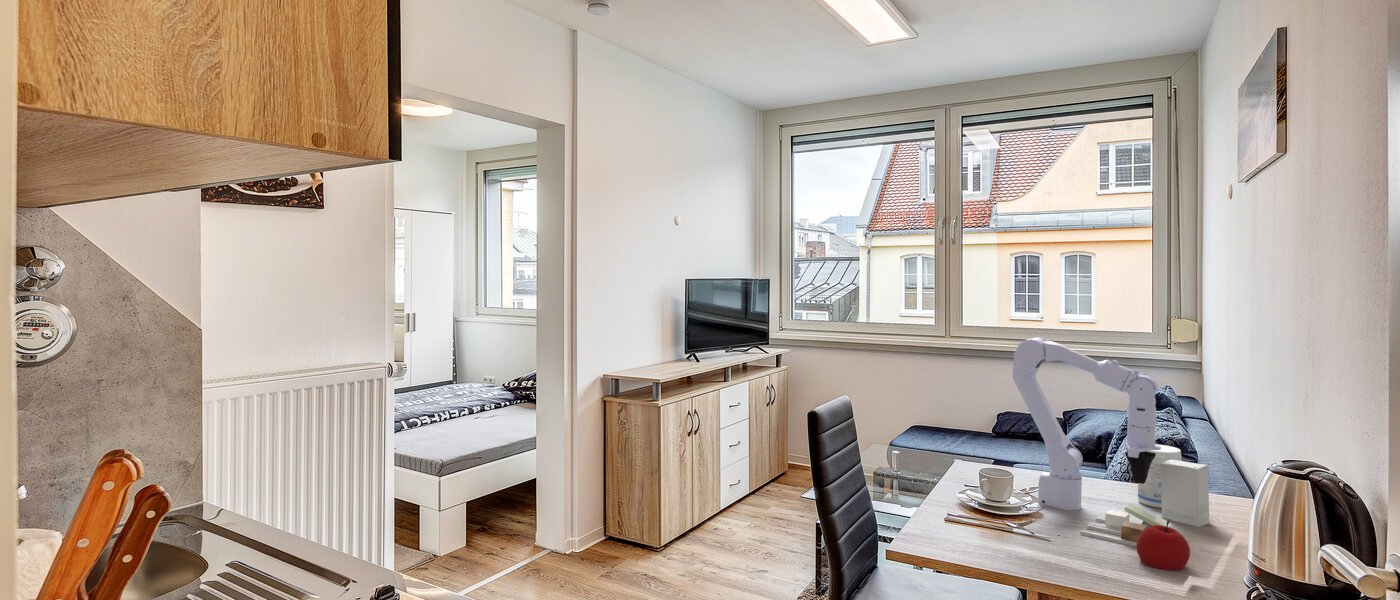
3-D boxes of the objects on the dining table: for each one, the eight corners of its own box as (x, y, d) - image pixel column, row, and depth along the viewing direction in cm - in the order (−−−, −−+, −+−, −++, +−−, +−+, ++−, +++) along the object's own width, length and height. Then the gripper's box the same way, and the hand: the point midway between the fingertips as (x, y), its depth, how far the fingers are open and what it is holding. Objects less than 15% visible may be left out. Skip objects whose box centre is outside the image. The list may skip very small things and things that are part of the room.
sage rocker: (1123, 510, 168) (1126, 505, 168) (1128, 506, 171) (1130, 501, 171) (1166, 533, 163) (1168, 528, 162) (1169, 528, 166) (1172, 524, 165)
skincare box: (1209, 528, 171) (1211, 465, 171) (1197, 532, 168) (1199, 468, 168) (1170, 518, 178) (1172, 457, 178) (1158, 522, 175) (1160, 460, 175)
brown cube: (1121, 541, 158) (1121, 525, 158) (1125, 536, 161) (1126, 521, 161) (1142, 546, 156) (1142, 530, 155) (1146, 541, 158) (1146, 525, 158)
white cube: (1105, 528, 167) (1105, 513, 167) (1109, 524, 170) (1110, 509, 170) (1124, 532, 164) (1125, 517, 164) (1129, 528, 167) (1129, 513, 167)
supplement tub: (1159, 497, 195) (1160, 443, 195) (1190, 508, 186) (1191, 451, 186) (1128, 499, 193) (1129, 444, 193) (1158, 510, 184) (1159, 452, 184)
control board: (1064, 537, 164) (1064, 524, 164) (1092, 515, 180) (1092, 503, 180) (1168, 561, 151) (1168, 547, 151) (1188, 534, 167) (1188, 522, 167)
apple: (1135, 558, 152) (1136, 510, 152) (1187, 566, 148) (1188, 518, 148) (1136, 573, 144) (1137, 523, 144) (1191, 583, 140) (1192, 531, 140)
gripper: (1153, 432, 166) (1151, 492, 166) (1167, 424, 176) (1166, 479, 177) (1118, 428, 170) (1116, 485, 171) (1134, 419, 181) (1133, 474, 181)
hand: (1139, 482), depth 174 cm, fingers closed
